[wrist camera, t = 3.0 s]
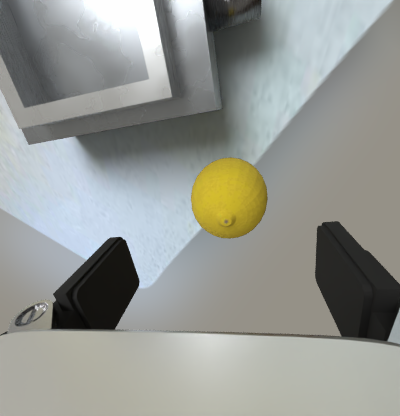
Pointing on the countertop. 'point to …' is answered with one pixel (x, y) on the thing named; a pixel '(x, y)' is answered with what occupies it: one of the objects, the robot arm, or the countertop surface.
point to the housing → (111, 61)
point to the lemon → (229, 198)
